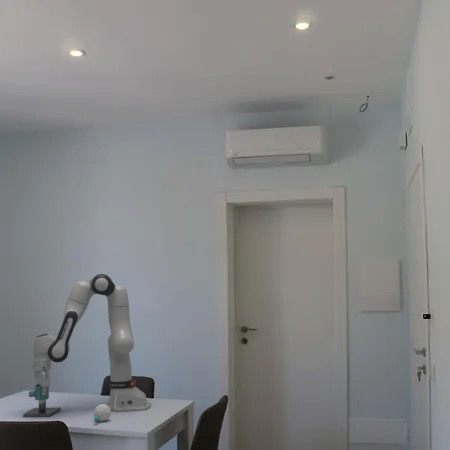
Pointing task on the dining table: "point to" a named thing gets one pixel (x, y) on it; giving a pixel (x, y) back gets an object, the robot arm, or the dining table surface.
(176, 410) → the dining table surface
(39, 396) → the sleeve
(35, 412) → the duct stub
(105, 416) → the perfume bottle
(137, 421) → the dining table surface
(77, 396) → the dining table surface
